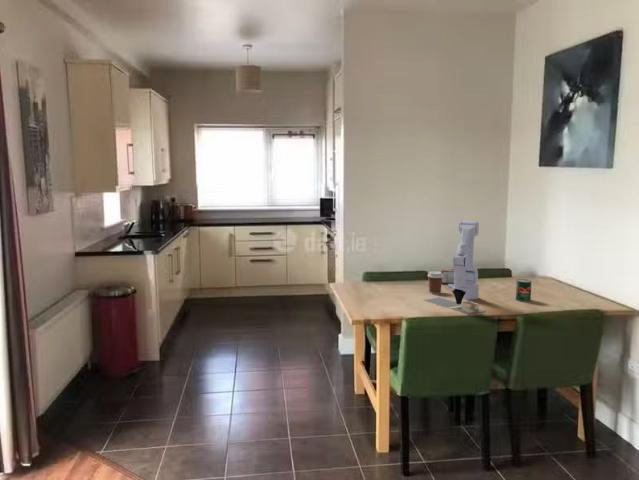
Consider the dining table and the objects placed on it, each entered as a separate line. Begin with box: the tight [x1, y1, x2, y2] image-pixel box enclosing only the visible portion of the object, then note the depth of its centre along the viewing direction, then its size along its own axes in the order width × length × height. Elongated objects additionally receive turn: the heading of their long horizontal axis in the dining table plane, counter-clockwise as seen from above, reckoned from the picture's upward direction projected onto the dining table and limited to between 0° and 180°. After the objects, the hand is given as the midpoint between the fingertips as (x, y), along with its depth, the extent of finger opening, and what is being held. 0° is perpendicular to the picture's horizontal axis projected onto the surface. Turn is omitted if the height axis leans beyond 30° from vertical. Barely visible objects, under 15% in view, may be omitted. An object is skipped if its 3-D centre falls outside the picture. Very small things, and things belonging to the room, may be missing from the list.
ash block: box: [461, 301, 480, 313], centre depth 272 cm, size 6×6×4 cm
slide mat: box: [423, 297, 487, 316], centre depth 284 cm, size 12×34×1 cm, turn 30°
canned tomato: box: [515, 278, 533, 302], centre depth 297 cm, size 8×8×11 cm
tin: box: [440, 269, 454, 284], centre depth 340 cm, size 15×3×8 cm, turn 92°
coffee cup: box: [427, 270, 443, 295], centre depth 314 cm, size 9×9×12 cm
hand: (458, 303), depth 280 cm, fingers closed
